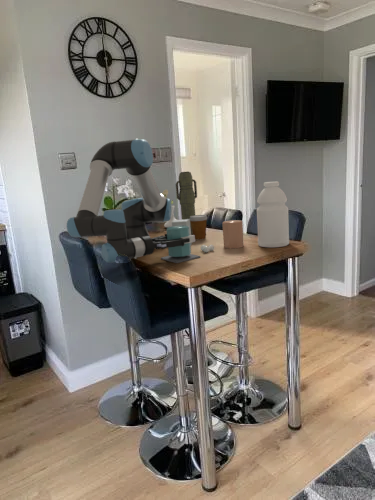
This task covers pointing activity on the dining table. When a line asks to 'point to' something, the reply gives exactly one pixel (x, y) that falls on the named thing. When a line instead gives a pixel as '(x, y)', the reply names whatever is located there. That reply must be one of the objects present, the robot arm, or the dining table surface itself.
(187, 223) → the supplement box
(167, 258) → the coaster
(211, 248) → the marble
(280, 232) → the bottle
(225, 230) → the terracotta cup
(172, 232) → the teal cup
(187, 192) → the thermos
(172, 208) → the flower in vase
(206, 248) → the marble
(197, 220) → the disposable coffee cup
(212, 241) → the dining table surface
